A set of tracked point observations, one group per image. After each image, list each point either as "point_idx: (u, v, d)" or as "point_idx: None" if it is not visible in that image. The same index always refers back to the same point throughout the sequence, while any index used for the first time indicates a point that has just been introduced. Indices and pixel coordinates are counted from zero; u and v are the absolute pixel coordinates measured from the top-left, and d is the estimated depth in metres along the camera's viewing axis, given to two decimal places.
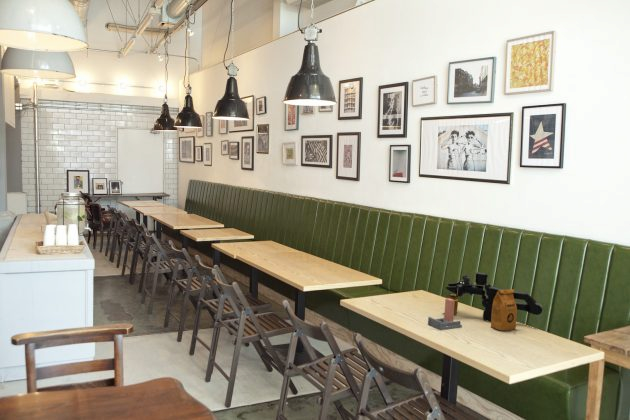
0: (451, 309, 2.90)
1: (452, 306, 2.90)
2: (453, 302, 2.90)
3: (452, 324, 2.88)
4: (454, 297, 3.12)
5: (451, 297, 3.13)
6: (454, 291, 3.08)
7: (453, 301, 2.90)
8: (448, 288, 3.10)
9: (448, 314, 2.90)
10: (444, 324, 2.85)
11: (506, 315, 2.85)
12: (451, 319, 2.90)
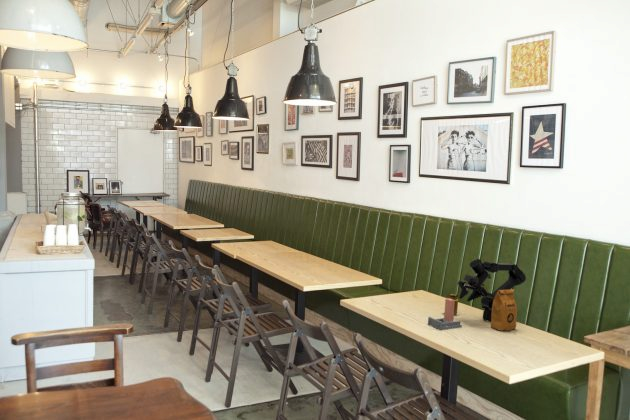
0: (451, 309, 2.90)
1: (452, 306, 2.90)
2: (453, 302, 2.90)
3: (452, 324, 2.88)
4: (454, 297, 3.12)
5: (451, 297, 3.13)
6: (475, 296, 2.94)
7: (453, 301, 2.90)
8: (470, 299, 2.93)
9: (448, 314, 2.90)
10: (444, 324, 2.85)
11: (506, 315, 2.85)
12: (451, 319, 2.90)
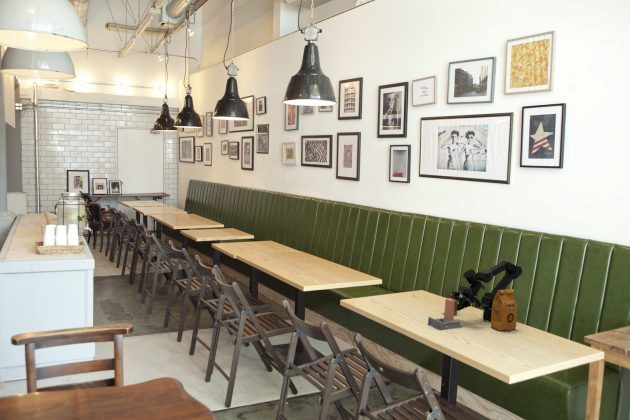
0: (451, 309, 2.90)
1: (452, 306, 2.90)
2: (453, 302, 2.90)
3: (452, 324, 2.88)
4: None
5: (451, 297, 3.13)
6: (465, 305, 2.95)
7: (453, 301, 2.90)
8: (459, 308, 2.94)
9: (448, 314, 2.90)
10: (444, 324, 2.85)
11: (506, 315, 2.85)
12: (451, 319, 2.90)
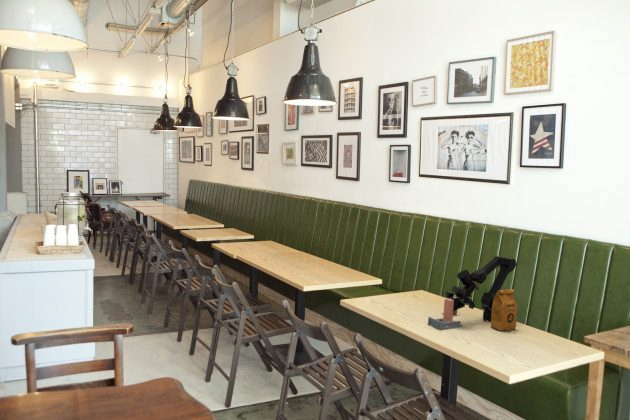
0: (450, 309, 2.89)
1: (451, 306, 2.89)
2: (452, 302, 2.89)
3: (452, 324, 2.88)
4: None
5: None
6: (459, 306, 2.92)
7: (452, 301, 2.89)
8: (453, 309, 2.92)
9: (447, 314, 2.90)
10: (444, 324, 2.85)
11: (506, 315, 2.85)
12: (450, 319, 2.90)
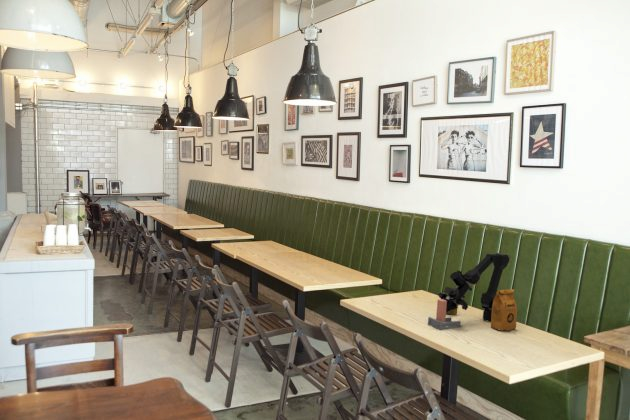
0: (443, 310, 2.87)
1: (444, 307, 2.87)
2: (445, 303, 2.87)
3: (452, 324, 2.88)
4: None
5: None
6: (452, 307, 2.90)
7: (445, 302, 2.87)
8: (446, 310, 2.89)
9: (440, 315, 2.88)
10: (444, 324, 2.85)
11: (506, 315, 2.85)
12: (443, 320, 2.88)
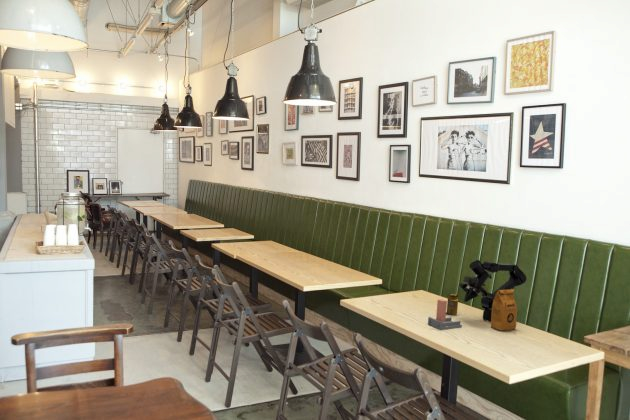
0: (443, 310, 2.87)
1: (444, 307, 2.87)
2: (445, 303, 2.87)
3: (452, 324, 2.88)
4: (454, 297, 3.12)
5: (451, 297, 3.13)
6: (473, 296, 2.97)
7: (445, 302, 2.87)
8: (467, 299, 2.97)
9: (440, 315, 2.88)
10: (444, 324, 2.85)
11: (506, 315, 2.85)
12: (443, 320, 2.88)
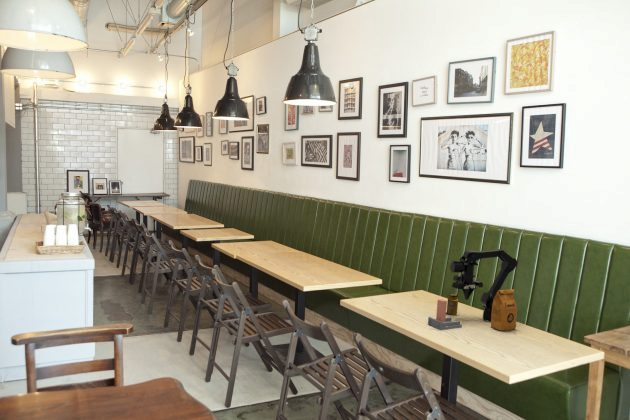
0: (443, 310, 2.87)
1: (444, 307, 2.87)
2: (445, 303, 2.87)
3: (452, 324, 2.88)
4: (454, 297, 3.12)
5: (451, 297, 3.13)
6: (466, 291, 3.01)
7: (445, 302, 2.87)
8: (465, 297, 3.03)
9: (440, 315, 2.88)
10: (444, 324, 2.85)
11: (506, 315, 2.85)
12: (443, 320, 2.88)
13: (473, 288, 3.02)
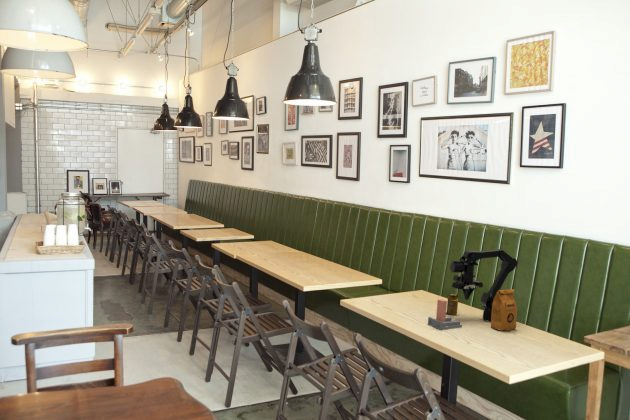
0: (443, 310, 2.87)
1: (444, 307, 2.87)
2: (445, 303, 2.87)
3: (452, 324, 2.88)
4: (454, 297, 3.12)
5: (451, 297, 3.13)
6: (466, 291, 3.01)
7: (445, 302, 2.87)
8: (465, 297, 3.03)
9: (440, 315, 2.88)
10: (444, 324, 2.85)
11: (506, 315, 2.85)
12: (443, 320, 2.88)
13: (473, 288, 3.02)
